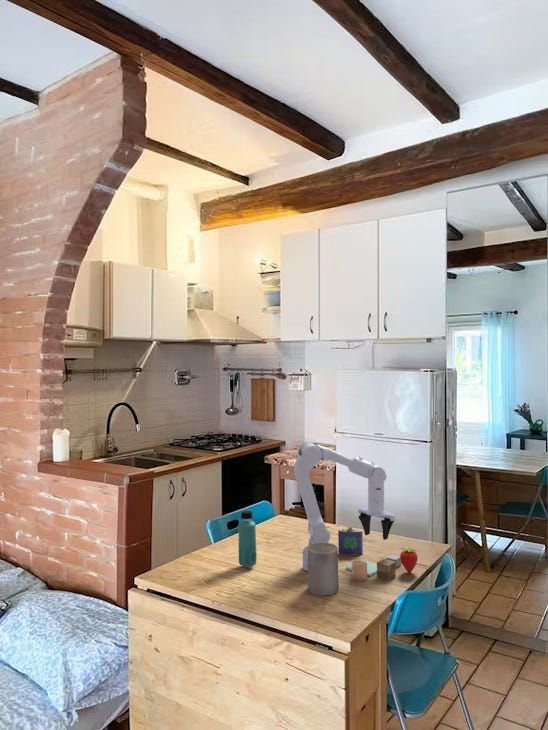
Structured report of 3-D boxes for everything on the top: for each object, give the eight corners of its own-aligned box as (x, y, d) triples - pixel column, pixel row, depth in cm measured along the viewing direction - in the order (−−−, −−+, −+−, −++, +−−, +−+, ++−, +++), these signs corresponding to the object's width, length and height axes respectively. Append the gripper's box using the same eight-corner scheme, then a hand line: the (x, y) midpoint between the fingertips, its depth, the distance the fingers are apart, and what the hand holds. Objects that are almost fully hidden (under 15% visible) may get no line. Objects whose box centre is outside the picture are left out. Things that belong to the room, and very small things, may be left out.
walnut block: (388, 580, 188) (388, 565, 188) (377, 577, 191) (376, 562, 191) (395, 576, 191) (395, 562, 191) (384, 573, 194) (384, 558, 194)
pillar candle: (319, 581, 187) (318, 536, 187) (344, 588, 181) (343, 542, 181) (302, 591, 180) (301, 544, 180) (327, 599, 174) (326, 550, 173)
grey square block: (395, 568, 199) (395, 559, 199) (385, 565, 202) (385, 557, 202) (401, 565, 202) (401, 556, 202) (391, 562, 205) (391, 554, 205)
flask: (362, 552, 215) (362, 524, 214) (363, 555, 212) (363, 527, 212) (338, 552, 215) (337, 524, 215) (338, 555, 212) (338, 527, 212)
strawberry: (398, 575, 192) (397, 546, 192) (402, 567, 199) (402, 539, 199) (415, 578, 189) (415, 548, 189) (419, 570, 196) (419, 541, 196)
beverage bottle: (254, 571, 196) (253, 514, 196) (236, 570, 198) (235, 513, 198) (258, 564, 203) (258, 509, 203) (240, 563, 204) (240, 508, 204)
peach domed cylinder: (361, 582, 187) (361, 567, 186) (349, 578, 190) (349, 563, 190) (370, 577, 190) (370, 563, 190) (357, 574, 194) (357, 559, 194)
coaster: (369, 576, 191) (369, 574, 191) (345, 569, 198) (345, 567, 198) (385, 568, 198) (385, 566, 198) (362, 561, 205) (362, 559, 205)
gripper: (399, 500, 200) (399, 538, 200) (365, 493, 210) (365, 530, 210) (389, 504, 195) (389, 543, 195) (354, 497, 205) (354, 534, 205)
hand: (376, 536), depth 202 cm, fingers open, 7 cm apart
